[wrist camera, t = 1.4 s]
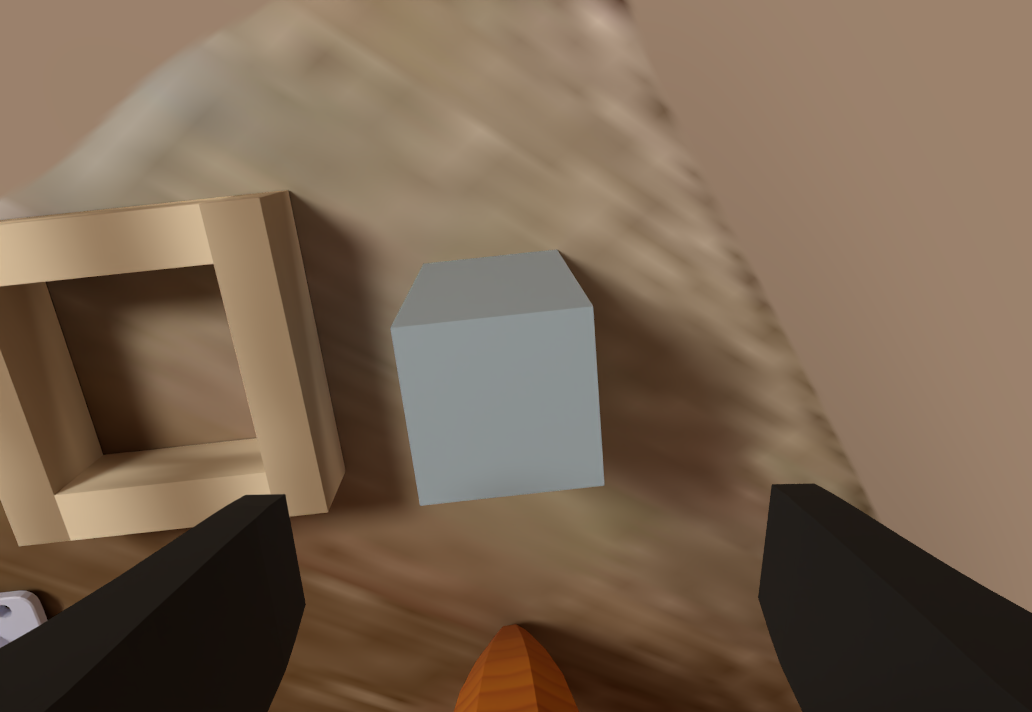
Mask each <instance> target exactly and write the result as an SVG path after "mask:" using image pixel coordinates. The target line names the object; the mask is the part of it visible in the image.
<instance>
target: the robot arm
mask: <svg viewBox="0 0 1032 712" xmlns="http://www.w3.org/2000/svg"><path fill="white" fill-rule="evenodd" d="M758 598H759V602H760V605H761V608H762V611H763V614H764V617H765V620H766V624H767V627H768V630H769V633H770V636H771V639H772V642H773V645H774V647H775V650H776V653H777V656H778V659H779V662H780V664H781V667H782V669H783V671H784V673H785V675H786V677H787V680H788V682H789V684H790V686H791V688H792V690H793V692H794V695H795V697H796V699H797V701H798V703H799V705H800V707H801V709H802V711H803V712H1032V613H1031V612H1029V611H1027V610H1025V609H1024V608H1022V607H1020V606H1018V605H1016V604H1014V603H1013V602H1011V601H1009V600H1007V599H1006V598H1004V597H1002V596H1000V595H998V594H997V593H995V592H993V591H991V590H989V589H988V588H986V587H984V586H982V585H981V584H979V583H977V582H976V581H974V580H972V579H971V578H969V577H967V576H965V575H964V574H962V573H960V572H958V571H957V570H955V569H954V568H952V567H950V566H949V565H947V564H945V563H944V562H942V561H940V560H939V559H937V558H935V557H934V556H932V555H931V554H929V553H927V552H926V551H924V550H922V549H921V548H919V547H918V546H916V545H914V544H913V543H911V542H910V541H908V540H906V539H905V538H903V537H901V536H900V535H898V534H897V533H895V532H894V531H892V530H890V529H889V528H887V527H886V526H884V525H883V524H881V523H879V522H878V521H876V520H875V519H873V518H871V517H870V516H868V515H867V514H865V513H863V512H862V511H860V510H859V509H857V508H855V507H854V506H852V505H851V504H849V503H847V502H846V501H844V500H842V499H841V498H839V497H837V496H836V495H834V494H832V493H831V492H829V491H827V490H825V489H823V488H822V487H820V486H818V485H816V484H772V488H771V496H770V504H769V512H768V521H767V529H766V537H765V546H764V554H763V562H762V571H761V579H760V587H759V596H758ZM305 605H306V604H305V598H304V593H303V588H302V582H301V577H300V571H299V566H298V560H297V555H296V549H295V544H294V539H293V533H292V528H291V522H290V517H289V511H288V506H287V500H286V495H285V494H265V495H244V496H242V497H241V498H239V499H237V500H235V501H233V502H232V503H230V504H228V505H227V506H225V507H223V508H222V509H220V510H219V511H217V512H216V513H214V514H212V515H211V516H209V517H208V518H206V519H205V520H203V521H202V522H200V523H199V524H197V525H196V526H194V527H193V528H191V529H190V530H188V531H187V532H185V533H184V534H182V535H181V536H179V537H178V538H176V539H175V540H173V541H172V542H170V543H169V544H167V545H166V546H164V547H163V548H161V549H160V550H158V551H157V552H155V553H154V554H152V555H151V556H149V557H148V558H146V559H145V560H143V561H142V562H140V563H139V564H137V565H136V566H134V567H133V568H131V569H130V570H128V571H127V572H125V573H123V574H122V575H120V576H119V577H117V578H116V579H114V580H112V581H111V582H109V583H108V584H106V585H104V586H103V587H101V588H99V589H98V590H96V591H95V592H93V593H91V594H90V595H88V596H87V597H85V598H83V599H82V600H80V601H78V602H77V603H75V604H74V605H72V606H70V607H69V608H67V609H65V610H64V611H62V612H61V613H59V614H57V615H56V616H54V617H53V618H51V619H49V620H47V617H46V615H45V612H44V610H43V607H42V605H41V602H40V600H39V599H38V597H37V596H36V595H35V594H33V593H31V592H28V591H12V592H3V593H0V712H268V710H269V707H270V705H271V703H272V700H273V698H274V696H275V694H276V691H277V689H278V687H279V685H280V682H281V680H282V678H283V675H284V673H285V670H286V668H287V665H288V662H289V658H290V655H291V652H292V649H293V646H294V643H295V640H296V636H297V633H298V629H299V626H300V622H301V619H302V615H303V612H304V608H305ZM5 606H7V607H9V608H10V609H8V608H6V607H5Z"/></svg>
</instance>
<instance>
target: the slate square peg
mask: <svg viewBox="0 0 1032 712" xmlns="http://www.w3.org/2000/svg"><path fill="white" fill-rule="evenodd" d="M391 334H392V340H393V346H394V352H395V358H396V364H397V370H398V376H399V382H400V388H401V394H402V400H403V406H404V412H405V418H406V424H407V430H408V436H409V442H410V448H411V454H412V460H413V466H414V472H415V478H416V484H417V490H418V496H419V502H420V506H421V505H431V504H440V503H449V502H458V501H467V500H476V499H486V498H495V497H504V496H513V495H522V494H531V493H540V492H550V491H559V490H568V489H577V488H586V487H595V486H604V470H603V454H602V438H601V423H600V407H599V391H598V375H597V360H596V344H595V328H594V313H593V305H592V304H591V302H590V301H589V299H588V297H587V296H586V294H585V293H584V291H583V290H582V288H581V286H580V285H579V283H578V282H577V280H576V279H575V277H574V275H573V274H572V272H571V271H570V269H569V267H568V266H567V264H566V263H565V261H564V260H563V258H562V256H561V255H560V253H559V252H558V250H548V251H539V252H529V253H520V254H510V255H501V256H492V257H482V258H473V259H463V260H454V261H445V262H435V263H426V264H423V266H422V268H421V270H420V272H419V274H418V275H417V277H416V279H415V281H414V283H413V285H412V287H411V289H410V291H409V293H408V295H407V297H406V299H405V301H404V303H403V305H402V306H401V308H400V310H399V312H398V314H397V316H396V318H395V320H394V322H393V324H392V326H391Z"/></svg>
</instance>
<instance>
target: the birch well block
mask: <svg viewBox="0 0 1032 712" xmlns="http://www.w3.org/2000/svg"><path fill="white" fill-rule="evenodd" d="M207 264H214V267H215V271H216V275H217V280H218V284H219V288H220V292H221V296H222V300H223V304H224V308H225V312H226V316H227V320H228V324H229V328H230V332H231V336H232V340H233V344H234V348H235V352H236V356H237V360H238V364H239V368H240V372H241V376H242V380H243V384H244V388H245V392H246V396H247V400H248V404H249V408H250V412H251V416H252V420H253V424H254V428H255V433H256V437H257V438H255V439H245V440H236V441H227V442H218V443H208V444H199V445H190V446H181V447H171V448H162V449H153V450H144V451H134V452H125V453H116V454H107V455H103V453H102V450H101V447H100V444H99V441H98V438H97V435H96V432H95V429H94V426H93V423H92V420H91V417H90V414H89V411H88V408H87V405H86V402H85V399H84V396H83V393H82V390H81V387H80V384H79V381H78V378H77V375H76V372H75V369H74V366H73V363H72V360H71V357H70V354H69V351H68V348H67V345H66V342H65V339H64V336H63V333H62V330H61V327H60V324H59V321H58V318H57V315H56V312H55V309H54V306H53V303H52V300H51V297H50V294H49V291H48V288H47V285H46V281H55V280H65V279H74V278H84V277H93V276H102V275H112V274H121V273H131V272H140V271H150V270H159V269H169V268H178V267H188V266H197V265H207ZM344 474H345V466H344V461H343V456H342V451H341V446H340V441H339V436H338V432H337V427H336V422H335V417H334V412H333V407H332V402H331V397H330V392H329V387H328V383H327V378H326V373H325V368H324V363H323V358H322V353H321V348H320V343H319V339H318V334H317V329H316V324H315V319H314V314H313V309H312V304H311V299H310V294H309V290H308V285H307V280H306V275H305V270H304V265H303V260H302V255H301V250H300V246H299V241H298V236H297V231H296V226H295V221H294V216H293V211H292V206H291V201H290V197H289V192H288V190H284V191H275V192H265V193H256V194H246V195H237V196H227V197H218V198H208V199H198V200H189V201H179V202H170V203H160V204H151V205H141V206H132V207H122V208H113V209H103V210H93V211H84V212H74V213H65V214H55V215H46V216H36V217H27V218H17V219H8V220H0V500H1V502H2V505H3V507H4V510H5V512H6V515H7V517H8V520H9V522H10V525H11V527H12V530H13V532H14V535H15V537H16V540H17V542H18V545H19V546H25V545H34V544H44V543H53V542H62V541H71V540H80V539H89V538H98V537H108V536H117V535H126V534H135V533H144V532H153V531H162V530H171V529H181V528H190V527H194V526H196V525H197V524H199V523H200V522H202V521H203V520H205V519H206V518H208V517H209V516H211V515H212V514H214V513H216V512H217V511H219V510H220V509H222V508H223V507H225V506H227V505H228V504H230V503H232V502H233V501H235V500H237V499H239V498H241V497H242V496H244V495H265V494H285V495H286V500H287V506H288V511H289V517H290V516H299V515H309V514H318V513H327V512H328V511H329V509H330V507H331V504H332V502H333V500H334V497H335V495H336V492H337V490H338V488H339V485H340V483H341V481H342V478H343V476H344Z"/></svg>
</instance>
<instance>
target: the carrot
mask: <svg viewBox="0 0 1032 712" xmlns="http://www.w3.org/2000/svg"><path fill="white" fill-rule="evenodd" d="M454 712H579V711H578V708H577V706H576V704H575V701H574V699H573V696H572V694H571V692H570V689H569V687H568V685H567V682H566V680H565V678H564V675H563V673H562V672H561V671H560V669H559V668H558V666H557V665H556V663H555V662H554V660H553V659H552V658H551V656H550V655H549V653H548V652H547V650H546V649H545V648H544V647H543V646H542V645H541V644H540V643H539V642H538V641H537V640H536V639H535V638H534V637H533V636H532V635H531V634H530V633H529V632H528V631H527V630H525V629H523V628H522V627H520V626H518V625H516V624H514V625H508V626H503V627H502V628H501V629H500V630H499V632H498V633H497V634H496V635H495V636H494V638H493V639H492V640H491V642H490V643H489V645H488V646H487V647H486V649H485V650H484V651H483V653H482V654H481V655H480V657H479V658H478V659H477V661H476V662H475V664H474V666H473V668H472V670H471V672H470V674H469V676H468V677H467V679H466V681H465V683H464V685H463V687H462V689H461V691H460V694H459V697H458V700H457V703H456V706H455V709H454Z"/></svg>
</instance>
